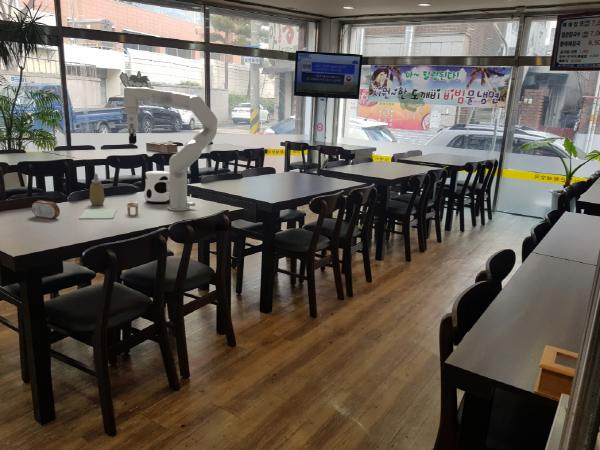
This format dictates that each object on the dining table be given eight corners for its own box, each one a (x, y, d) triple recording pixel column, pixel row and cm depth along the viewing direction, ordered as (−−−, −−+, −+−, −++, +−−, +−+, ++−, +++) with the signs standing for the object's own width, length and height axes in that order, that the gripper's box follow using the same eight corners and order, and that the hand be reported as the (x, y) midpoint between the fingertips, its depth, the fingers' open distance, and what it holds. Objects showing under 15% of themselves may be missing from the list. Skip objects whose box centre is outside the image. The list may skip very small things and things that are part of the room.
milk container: (144, 199, 301) (143, 170, 297) (173, 199, 306) (172, 170, 302) (144, 204, 285) (143, 174, 281) (174, 204, 290) (174, 174, 286)
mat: (117, 209, 268) (117, 208, 268) (112, 218, 248) (112, 217, 247) (86, 210, 264) (85, 208, 264) (79, 219, 243) (78, 218, 243)
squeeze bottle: (107, 204, 282) (106, 173, 278) (100, 206, 274) (99, 175, 270) (94, 203, 282) (92, 172, 278) (87, 205, 275) (85, 174, 270)
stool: (138, 213, 263) (137, 201, 262) (137, 215, 258) (137, 203, 257) (128, 213, 262) (128, 201, 260) (127, 215, 257) (127, 203, 256)
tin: (60, 218, 243) (59, 202, 241) (56, 220, 240) (54, 203, 238) (35, 215, 246) (34, 199, 244) (31, 216, 243) (29, 200, 241)
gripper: (138, 111, 253) (139, 144, 257) (140, 111, 269) (140, 142, 273) (123, 110, 251) (124, 144, 255) (125, 110, 267) (126, 141, 271)
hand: (132, 143), depth 264 cm, fingers open, 9 cm apart
